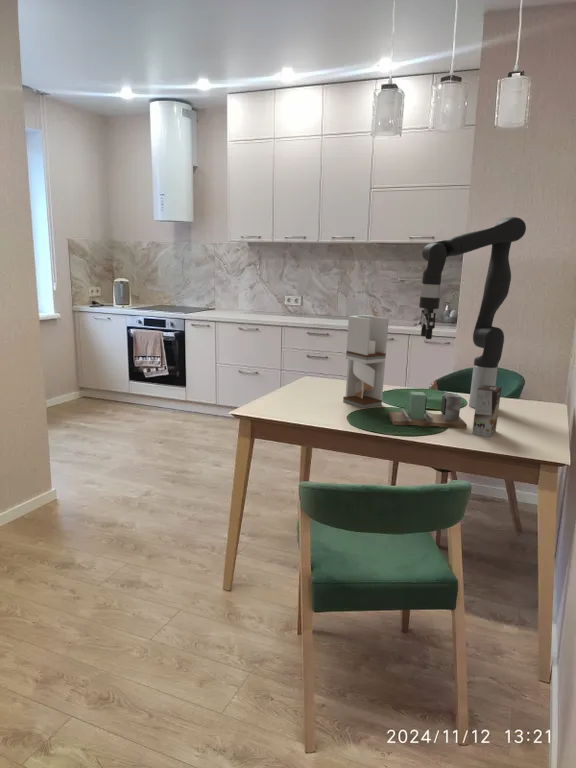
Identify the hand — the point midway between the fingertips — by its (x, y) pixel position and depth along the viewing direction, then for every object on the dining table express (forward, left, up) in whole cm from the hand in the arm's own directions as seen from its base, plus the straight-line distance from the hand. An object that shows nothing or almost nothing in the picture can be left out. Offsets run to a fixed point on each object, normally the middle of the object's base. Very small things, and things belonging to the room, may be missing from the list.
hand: (426, 337), depth 220 cm
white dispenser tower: (+23, -1, -28) cm, 36 cm away
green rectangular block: (+6, +22, -27) cm, 35 cm away
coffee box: (-16, +32, -28) cm, 46 cm away
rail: (+2, +22, -28) cm, 36 cm away
